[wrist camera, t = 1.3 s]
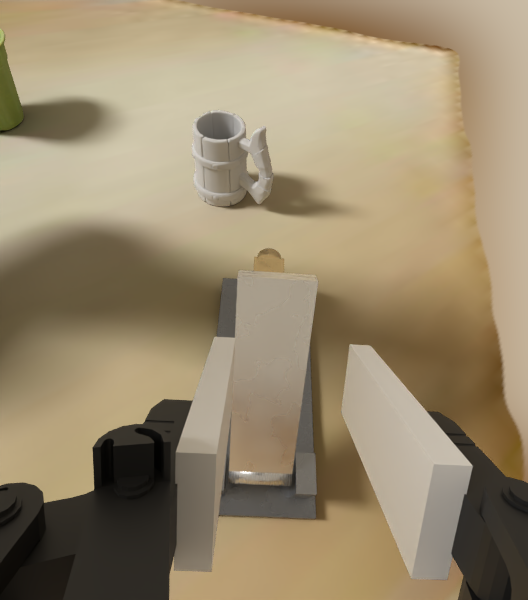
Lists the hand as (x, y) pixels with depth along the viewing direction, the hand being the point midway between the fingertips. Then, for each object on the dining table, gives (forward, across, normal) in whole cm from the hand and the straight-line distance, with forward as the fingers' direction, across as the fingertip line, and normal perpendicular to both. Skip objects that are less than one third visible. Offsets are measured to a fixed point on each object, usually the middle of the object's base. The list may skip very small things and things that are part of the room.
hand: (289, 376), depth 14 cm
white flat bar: (+13, 0, -7) cm, 15 cm away
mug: (+42, -5, +8) cm, 43 cm away
